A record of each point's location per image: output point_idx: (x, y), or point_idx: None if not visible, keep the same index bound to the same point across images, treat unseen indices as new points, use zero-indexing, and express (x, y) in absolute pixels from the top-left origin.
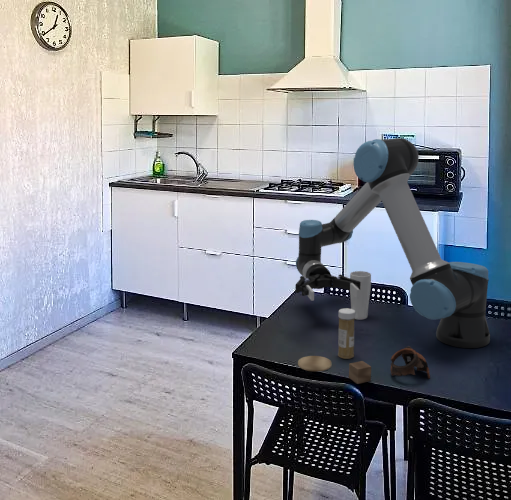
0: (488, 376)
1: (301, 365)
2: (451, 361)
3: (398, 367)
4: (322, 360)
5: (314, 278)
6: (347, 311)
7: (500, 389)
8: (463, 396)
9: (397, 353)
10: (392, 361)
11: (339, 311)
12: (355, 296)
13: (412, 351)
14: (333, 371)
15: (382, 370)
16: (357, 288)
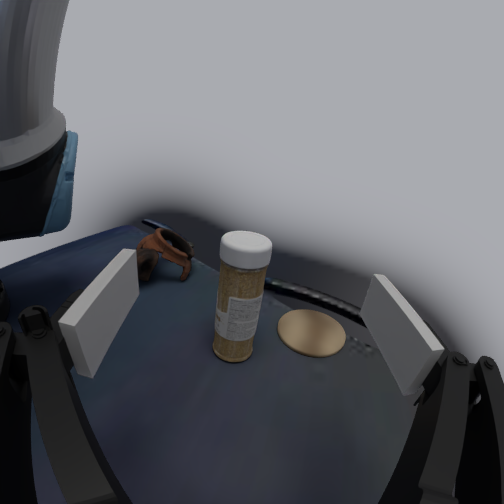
0: (74, 249)
1: (338, 324)
2: (65, 280)
3: (190, 246)
4: (295, 333)
5: (430, 494)
6: (248, 235)
7: (95, 236)
8: (141, 238)
9: (174, 248)
10: (185, 258)
11: (271, 242)
12: (132, 301)
13: (160, 230)
14: (279, 308)
15: (189, 292)
16: (120, 257)
